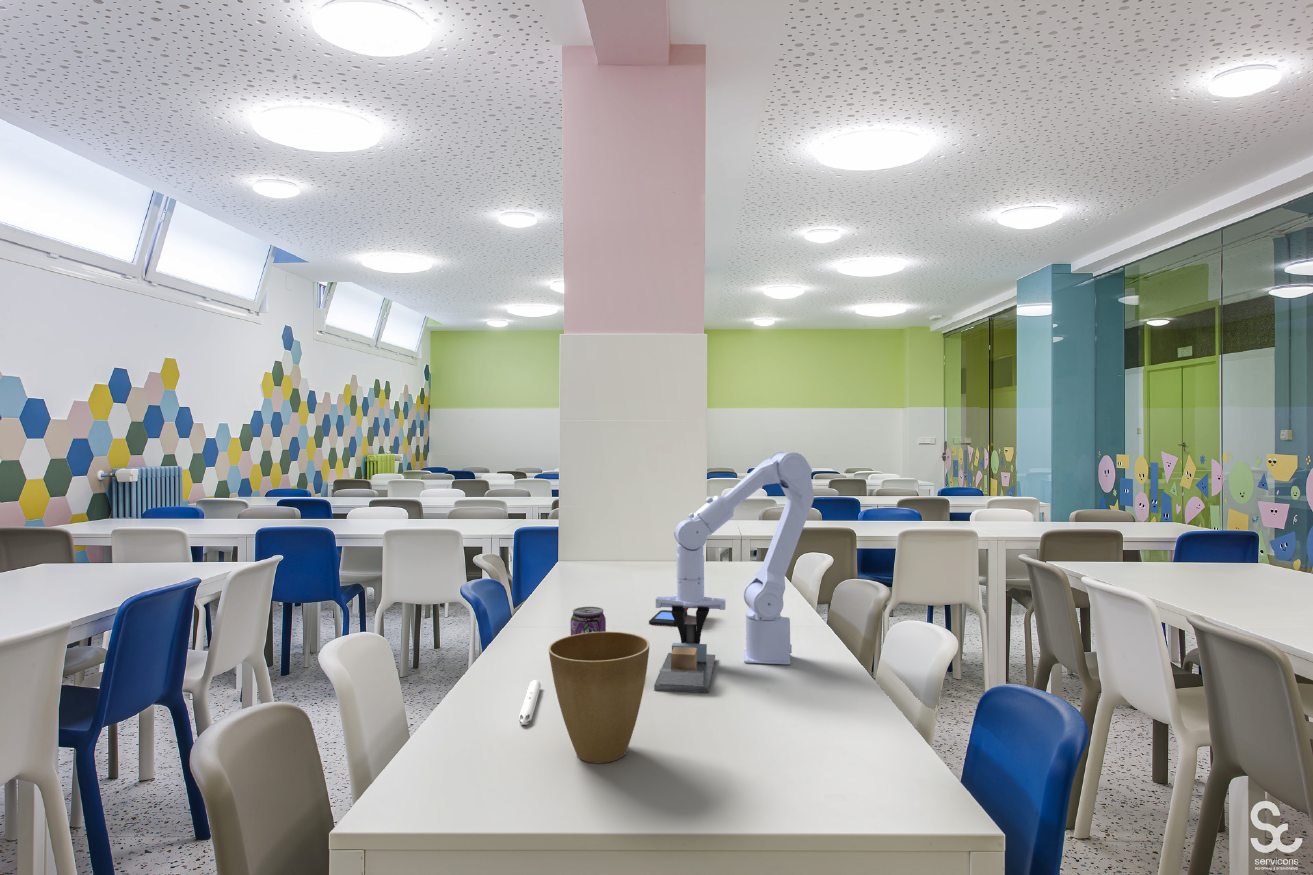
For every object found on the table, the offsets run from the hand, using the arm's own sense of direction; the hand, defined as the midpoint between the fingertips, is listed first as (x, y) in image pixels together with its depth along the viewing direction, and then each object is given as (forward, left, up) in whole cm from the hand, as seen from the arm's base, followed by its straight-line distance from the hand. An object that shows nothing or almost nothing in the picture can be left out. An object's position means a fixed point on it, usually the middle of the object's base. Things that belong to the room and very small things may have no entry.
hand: (690, 642), depth 147 cm
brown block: (0, +13, -3) cm, 13 cm away
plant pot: (+9, +45, -4) cm, 46 cm away
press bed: (0, +8, -4) cm, 9 cm away
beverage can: (+20, +8, -4) cm, 22 cm away
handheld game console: (+8, -34, -4) cm, 35 cm away
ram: (0, +2, -3) cm, 3 cm away
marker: (+25, +29, -4) cm, 39 cm away
